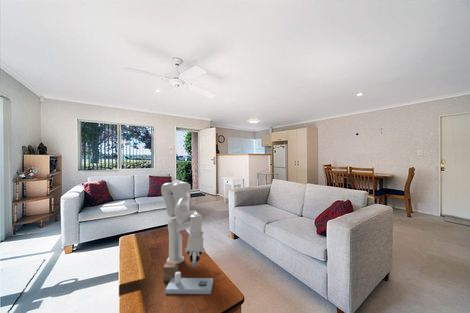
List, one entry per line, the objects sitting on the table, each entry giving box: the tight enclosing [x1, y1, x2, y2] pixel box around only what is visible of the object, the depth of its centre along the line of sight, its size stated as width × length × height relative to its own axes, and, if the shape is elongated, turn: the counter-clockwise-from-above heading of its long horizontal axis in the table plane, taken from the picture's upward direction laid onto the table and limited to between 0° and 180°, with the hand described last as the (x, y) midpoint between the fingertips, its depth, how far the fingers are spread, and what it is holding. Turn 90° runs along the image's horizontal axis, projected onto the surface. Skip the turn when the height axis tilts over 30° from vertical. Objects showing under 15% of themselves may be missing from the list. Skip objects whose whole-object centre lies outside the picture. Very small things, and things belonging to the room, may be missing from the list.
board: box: [164, 271, 214, 295], centre depth 109 cm, size 10×26×8 cm, turn 90°
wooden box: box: [162, 260, 179, 282], centre depth 118 cm, size 7×7×9 cm
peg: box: [191, 252, 198, 268], centre depth 119 cm, size 3×3×10 cm
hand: (194, 260), depth 119 cm, fingers closed on peg, 3 cm apart
